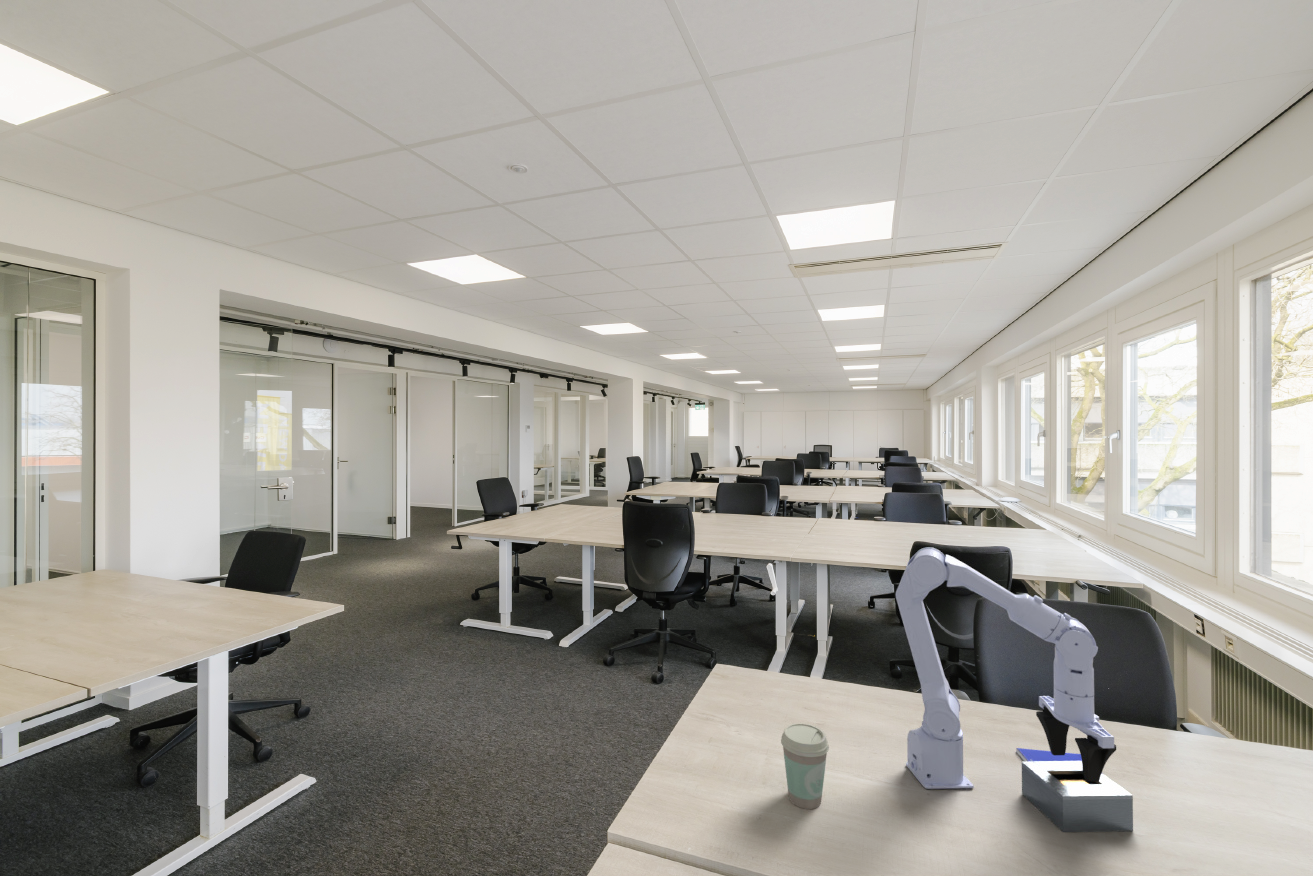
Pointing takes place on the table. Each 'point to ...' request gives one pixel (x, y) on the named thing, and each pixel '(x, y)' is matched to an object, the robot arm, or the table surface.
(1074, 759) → the hard drive
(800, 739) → the coffee cup
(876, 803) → the table surface
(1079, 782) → the orange rectangular block
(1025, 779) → the grey block with slot
